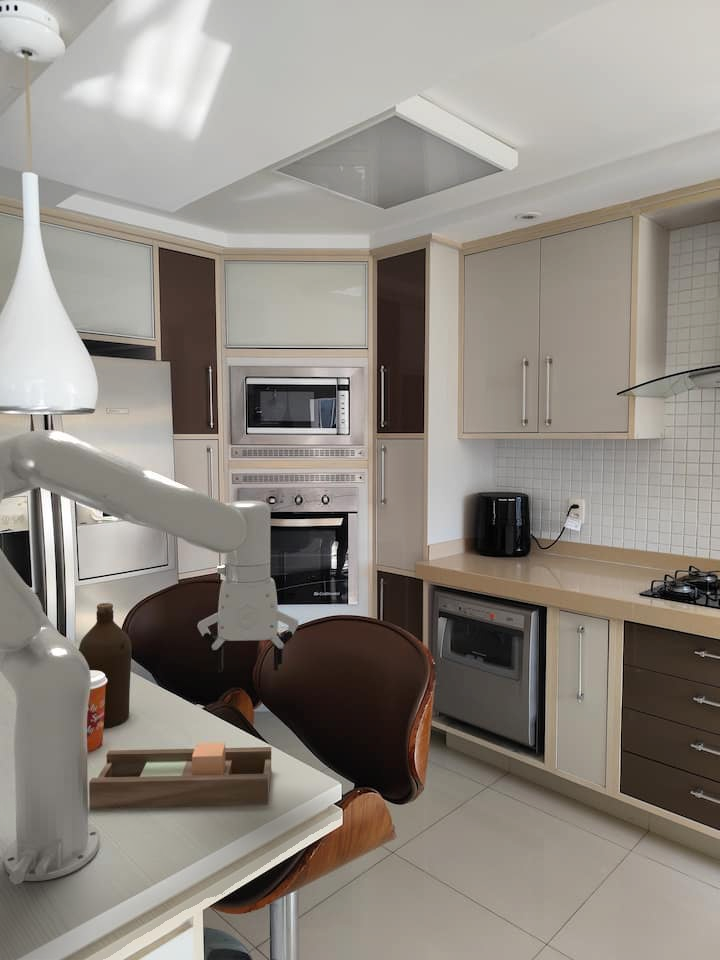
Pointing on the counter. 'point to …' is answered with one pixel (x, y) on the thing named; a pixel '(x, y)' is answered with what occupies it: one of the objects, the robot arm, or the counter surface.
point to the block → (208, 759)
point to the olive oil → (110, 663)
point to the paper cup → (96, 710)
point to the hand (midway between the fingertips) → (248, 668)
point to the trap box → (180, 779)
